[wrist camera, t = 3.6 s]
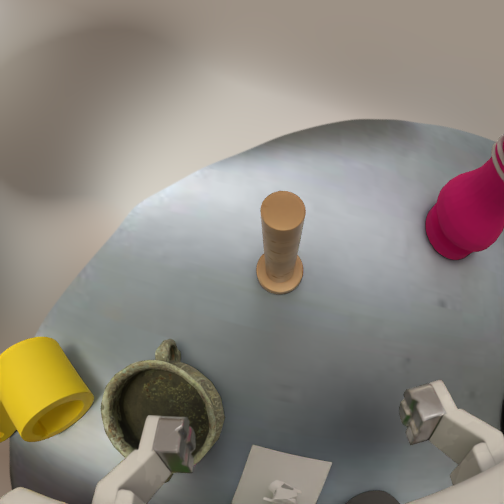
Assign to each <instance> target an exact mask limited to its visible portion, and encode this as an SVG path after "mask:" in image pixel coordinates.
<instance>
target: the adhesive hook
mask: <svg viewBox="0 0 504 504" xmlns="http://www.w3.org/2000/svg"><path fill="white" fill-rule="evenodd" d="M267 489H268V490H269V491H270V492H271V493H272V497H271V498H269V497H266V496H264V497H263V498H262V500H263V501H264V502H267V503H271V504H297V499H299V498H300V497H301V496H302V494H303V492H302V490H301V489H298V488H295V487H293V486H291V485H290V484H288V483H286V482H284V481H282V480H279V479H276V480H274V481H272V482H271V483H270V484H269V486H268V487H267Z"/></svg>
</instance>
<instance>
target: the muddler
mask: <svg viewBox="0 0 504 504" xmlns="http://www.w3.org/2000/svg"><path fill="white" fill-rule="evenodd" d="M305 211H306V210H305V206H304V203H303V201H302V200H301V199H300V198H299V197H298V196H297V195H295V194H294V193H291V192H288V191H278V192H274V193H272V194H270V195H269V196H267V197H266V198H265V200H264V201H263V203H262V205H261V222H262V233H263V244H264V254H263V255H262V256H261V257H260V259H259V261H258V263H257V269H256V271H257V277H258V281H259V283H260V284H261V286H262V287H263V288H264V289H265V290H267V291H268V292H270V293H273V294H279V295H281V294H287V293H289V292H291V291H293V290H294V289H295V288H296V287H297V286H298V285H299V283H300V281H301V279H302V276H303V264H302V262H301V259H300V258H299V256H298V255H297V254H298V249H299V244H300V239H301V234H302V229H303V224H304V219H305Z"/></svg>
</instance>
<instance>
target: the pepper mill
mask: <svg viewBox="0 0 504 504" xmlns="http://www.w3.org/2000/svg"><path fill="white" fill-rule="evenodd" d="M503 228H504V134H503V135H501V136H500V137H499V139H498V141H497V142H495V144H494V145H493V147H492V157H491V158H490V159H489V160H488V161H487V162H486V163H485V164H484V165H483V166H482V167H480V168H478V169H476V170H473V171H470V172H466V173H463V174H460V175H458V176H456V177H455V178H453V179H452V180H450V181H449V182H448V183H447V184H446V185H445V186H444V187H443V188H442V189H441V191H440V193H439V196H438V200H437V203H436V204H435V205H434V206H433V208H432V209H431V210H430V211H429V213H428V215H427V218H426V233H427V236H428V238H429V241H430V243H431V244H432V246H433V247H434V249H435V250H436V251H437V252H438V253H439V254H441V255H442V256H444V257H446V258H448V259H452V260H459V259H462V258H464V257H466V256H467V255H469V254H470V253H472V252H479V251H482V250H485V249H487V248H488V247H489V246H490V245H492V244H493V243H494V242H495V241H496V240H497V238H498V237H499V235H500V234H501V232H502V231H503Z"/></svg>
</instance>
